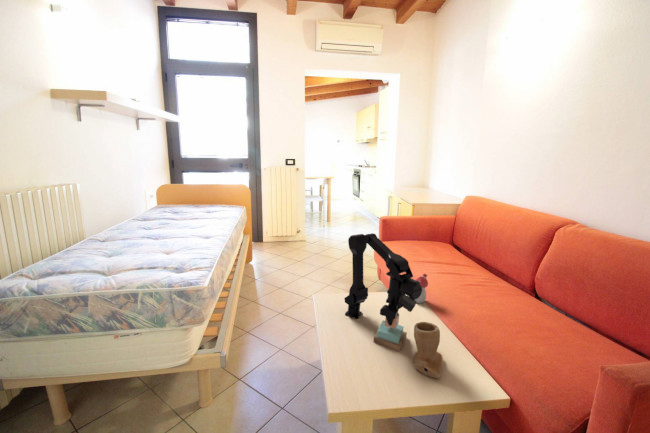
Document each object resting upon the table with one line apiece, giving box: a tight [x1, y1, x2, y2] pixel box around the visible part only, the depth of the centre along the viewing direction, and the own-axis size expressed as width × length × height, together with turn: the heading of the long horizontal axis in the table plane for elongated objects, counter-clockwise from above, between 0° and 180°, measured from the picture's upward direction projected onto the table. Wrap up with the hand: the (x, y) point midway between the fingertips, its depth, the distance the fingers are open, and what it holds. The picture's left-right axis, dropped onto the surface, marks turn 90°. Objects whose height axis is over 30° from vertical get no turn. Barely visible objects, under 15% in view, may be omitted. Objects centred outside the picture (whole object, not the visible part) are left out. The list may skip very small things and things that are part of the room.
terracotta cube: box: [384, 313, 400, 329], centre depth 127 cm, size 4×4×4 cm
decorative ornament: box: [415, 273, 429, 304], centre depth 163 cm, size 9×6×15 cm
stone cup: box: [413, 321, 443, 379], centre depth 114 cm, size 15×12×15 cm
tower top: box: [376, 319, 404, 344], centre depth 128 cm, size 9×9×3 cm
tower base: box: [372, 330, 408, 352], centre depth 129 cm, size 11×11×3 cm
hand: (391, 322), depth 127 cm, fingers closed on terracotta cube, 4 cm apart
